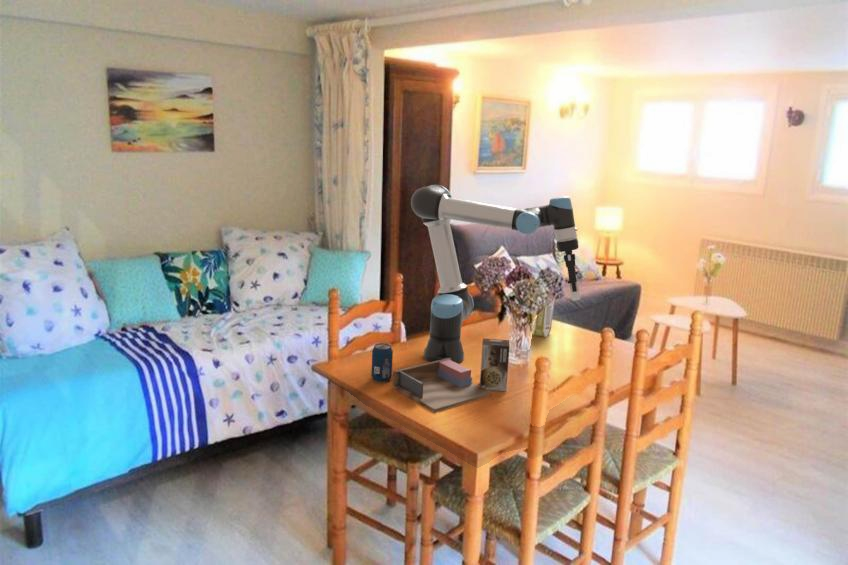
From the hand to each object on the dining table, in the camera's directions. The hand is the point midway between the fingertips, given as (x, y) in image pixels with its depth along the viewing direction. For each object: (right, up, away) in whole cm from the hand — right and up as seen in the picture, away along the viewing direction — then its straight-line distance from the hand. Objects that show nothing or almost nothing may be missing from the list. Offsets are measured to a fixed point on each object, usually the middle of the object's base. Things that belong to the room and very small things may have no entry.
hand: (575, 296), depth 232 cm
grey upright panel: (-60, -30, -28) cm, 73 cm away
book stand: (-50, -31, -24) cm, 63 cm away
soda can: (-70, -28, -16) cm, 77 cm away
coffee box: (-32, -31, -17) cm, 48 cm away
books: (-45, -28, -16) cm, 56 cm away
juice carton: (-5, -18, +42) cm, 46 cm away
